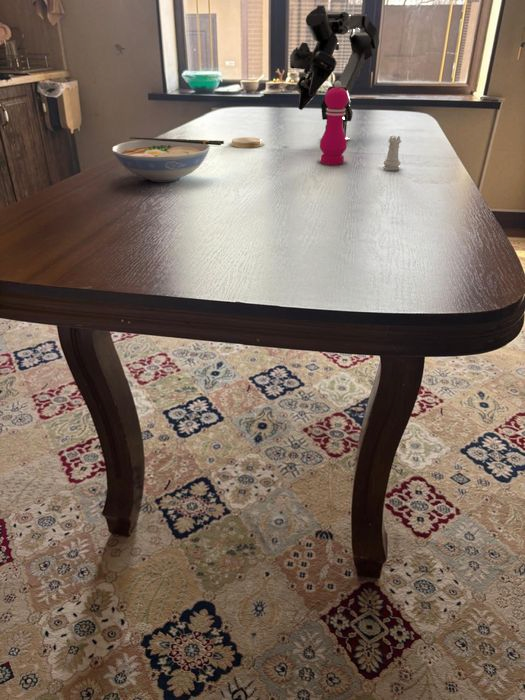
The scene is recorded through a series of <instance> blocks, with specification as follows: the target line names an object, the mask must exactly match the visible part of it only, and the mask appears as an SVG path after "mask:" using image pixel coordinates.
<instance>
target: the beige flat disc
mask: <svg viewBox="0 0 525 700" xmlns="http://www.w3.org/2000/svg"><path fill="white" fill-rule="evenodd" d="M230 144H231V146H232V147H234V148H240V149H241V148H243V149H251V148H252V149H253V148H259V147H262V145H263V142H262V139H261V138H256V137H250V136H249V137H248V136H247V137H245V136H244V137H236V138H232V139H231V143H230Z"/></svg>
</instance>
